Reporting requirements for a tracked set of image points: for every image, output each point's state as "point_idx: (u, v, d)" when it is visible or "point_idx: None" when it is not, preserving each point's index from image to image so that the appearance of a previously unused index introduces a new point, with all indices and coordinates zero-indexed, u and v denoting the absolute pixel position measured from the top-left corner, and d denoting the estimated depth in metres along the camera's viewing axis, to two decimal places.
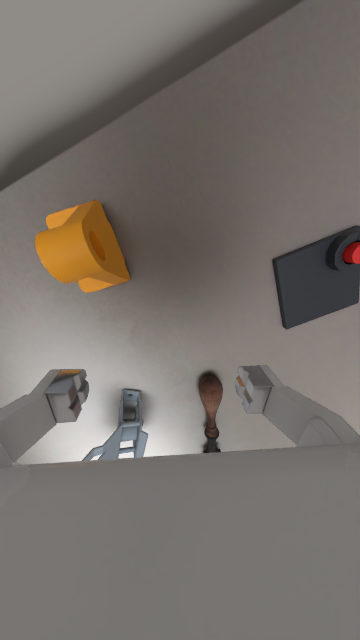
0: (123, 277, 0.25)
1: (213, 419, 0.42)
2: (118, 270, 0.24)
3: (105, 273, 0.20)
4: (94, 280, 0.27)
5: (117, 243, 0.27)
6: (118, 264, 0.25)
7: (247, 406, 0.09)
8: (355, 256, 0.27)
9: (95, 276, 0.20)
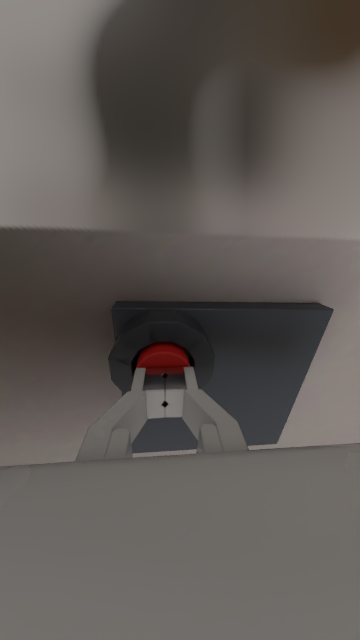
0: None
1: None
2: None
3: None
4: None
5: None
6: None
7: (165, 410, 0.08)
8: None
9: None
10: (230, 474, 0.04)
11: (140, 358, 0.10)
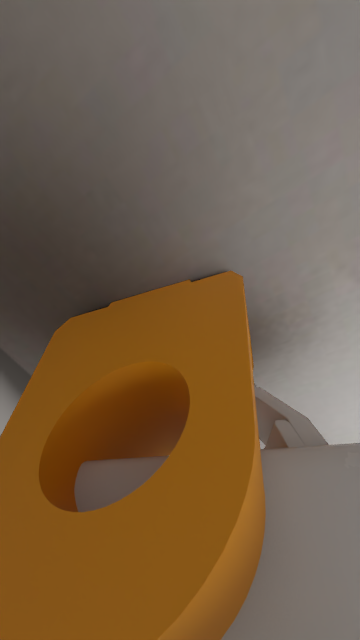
0: (238, 291, 0.08)
1: None
2: (219, 305, 0.07)
3: (252, 395, 0.04)
4: None
5: (149, 292, 0.12)
6: (198, 301, 0.08)
7: None
8: None
9: (257, 430, 0.04)
10: None
11: None
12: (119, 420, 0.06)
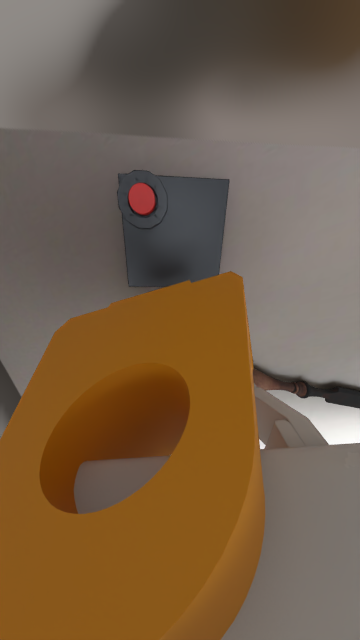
0: (238, 292, 0.08)
1: (282, 387, 0.37)
2: (219, 306, 0.07)
3: (252, 397, 0.04)
4: None
5: (149, 293, 0.12)
6: (198, 302, 0.08)
7: None
8: (142, 209, 0.21)
9: (257, 432, 0.04)
10: None
11: None
12: (119, 421, 0.06)
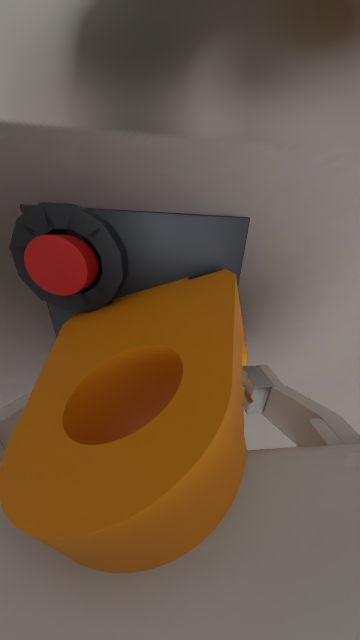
0: (231, 287, 0.09)
1: None
2: (212, 298, 0.08)
3: (235, 368, 0.05)
4: None
5: (150, 289, 0.13)
6: (194, 296, 0.09)
7: (246, 406, 0.09)
8: (61, 287, 0.10)
9: (241, 400, 0.05)
10: None
11: None
12: (123, 397, 0.07)
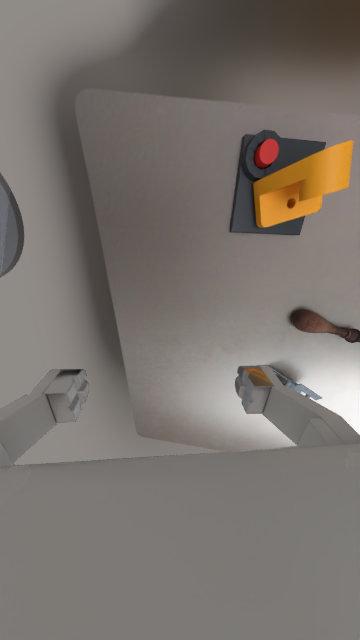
0: None
1: (337, 330, 0.44)
2: None
3: None
4: None
5: None
6: None
7: (246, 406, 0.09)
8: (267, 160, 0.28)
9: None
10: (230, 474, 0.04)
11: (261, 144, 0.27)
12: None
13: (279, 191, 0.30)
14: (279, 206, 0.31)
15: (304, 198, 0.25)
